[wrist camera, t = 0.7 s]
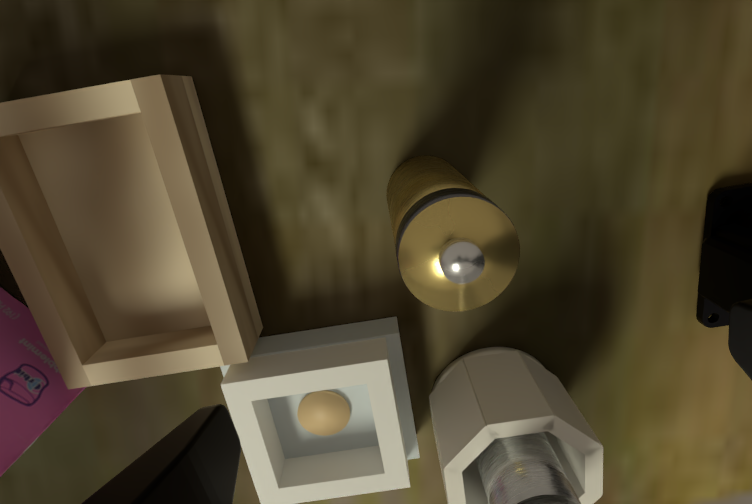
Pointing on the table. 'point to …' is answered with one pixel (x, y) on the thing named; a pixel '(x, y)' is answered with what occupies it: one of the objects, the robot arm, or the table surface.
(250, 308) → the trough
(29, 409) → the gum box
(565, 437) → the white octagonal prism
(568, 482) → the cylinder
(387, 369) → the cradle
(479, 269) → the brass cell
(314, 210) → the table surface
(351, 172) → the table surface
